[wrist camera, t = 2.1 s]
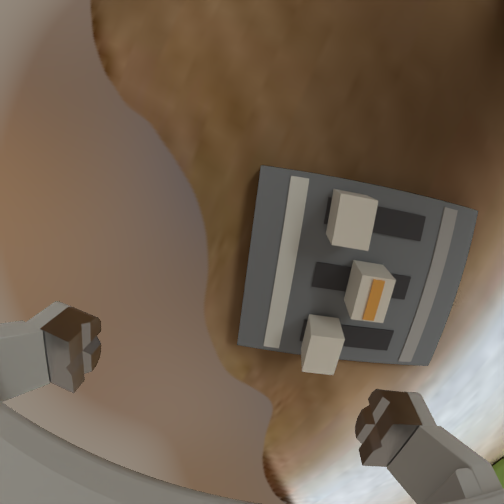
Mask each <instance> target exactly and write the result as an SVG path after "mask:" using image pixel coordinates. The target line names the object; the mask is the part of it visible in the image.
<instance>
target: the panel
mask: <svg viewBox="0 0 504 504" xmlns="http://www.w3.org/2000/svg"><path fill="white" fill-rule="evenodd" d="M333 189H337V190H343V191H348V192H353V193H359V194H364V195H367V196H369V197H372V198H374V199H376V200H378V206H377V211H376V216H375V221H374V226H373V231H372V236H371V241H370V245H369V250H368V251H365V250H359V249H353V248H347V247H341V246H335V245H331V243H330V241H329V239H328V237H327V235H326V230H327V224H328V219H329V213H330V207H331V201H332V195H333ZM477 214H478V211H477V210H474V209H471V208H468V207H464V206H460V205H457V204H453V203H449V202H446V201H442V200H438V199H434V198H430V197H426V196H422V195H418V194H414V193H410V192H405V191H401V190H397V189H392V188H388V187H383V186H379V185H374V184H369V183H364V182H359V181H354V180H349V179H344V178H338V177H333V176H327V175H322V174H316V173H310V172H304V171H298V170H291V169H285V168H278V167H271V166H264V165H261V169H260V177H259V184H258V191H257V199H256V206H255V214H254V221H253V229H252V236H251V244H250V251H249V259H248V266H247V274H246V281H245V289H244V296H243V304H242V311H241V319H240V327H239V334H238V342H237V345H241V346H247V347H252V348H259V349H265V350H271V351H278V352H285V353H292V354H299V355H301V346H302V342H303V338H304V334H305V330H306V325H307V321H308V317H309V314H312V315H319V316H327V317H334V318H339V320H340V324H341V327H342V331H343V334H344V338H345V341H344V344H343V347H342V350H341V353H340V357H339V359H341V360H351V361H362V362H373V363H387V364H402V365H422V366H428V365H429V363H430V361H431V358H432V356H433V354H434V351H435V349H436V347H437V344H438V342H439V339H440V337H441V334H442V332H443V329H444V327H445V324H446V321H447V319H448V316H449V313H450V311H451V308H452V305H453V302H454V299H455V296H456V293H457V290H458V287H459V284H460V281H461V277H462V274H463V271H464V267H465V264H466V260H467V256H468V253H469V249H470V245H471V241H472V237H473V233H474V228H475V224H476V219H477ZM353 260H357V261H363V262H369V263H375V264H382V265H384V266H385V267H386V269H387V270H388V271H389V272H390V273H391V275H392V276H393V277H394V278H395V279H396V282H395V285H394V289H393V292H392V296H391V299H390V303H389V306H388V309H387V312H386V315H385V319H384V322H383V323H378V322H369V321H361V320H353V319H351V318H350V316H349V313H348V310H347V307H346V304H345V302H344V297H345V293H346V289H347V285H348V281H349V277H350V272H351V268H352V264H353Z"/></svg>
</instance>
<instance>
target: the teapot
mask: <svg viewBox="0 0 504 504" xmlns="http://www.w3.org/2000/svg"><path fill="white" fill-rule="evenodd" d="M492 467H493V469H494V471H495V473H496V475H497V477H498V479H499V481H500V483H501V485H502V487H503V489H504V458H503V459H501V460H500V461H499V462H497V463H496V464H494V465H493V466H492Z"/></svg>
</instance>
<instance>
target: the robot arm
mask: <svg viewBox="0 0 504 504" xmlns="http://www.w3.org/2000/svg"><path fill="white" fill-rule="evenodd" d="M100 332H101V321H100V319H99V318H98V317H95V316H93V315H90V314H88V313H86V312H83V311H81V310H78V309H76V308H74V307H71V306H69V305H67V304H64V303H62V302H58V301H57V302H56V301H55V302H54V303H53V304H51V305H50V306H48V307H47V308H45V309H44V310H43V311H41V312H40V313H38V314H37V315H36V316H34V317H33V318H32V319H30V320H28V321H27V322H24V321H15V322H9V323H1V324H0V504H259V503H253V502H248V501H242V500H237V499H231V498H227V497H221V496H217V495H213V494H208V493H204V492H200V491H196V490H193V489H189V488H185V487H181V486H178V485H175V484H171V483H168V482H165V481H162V480H159V479H156V478H153V477H150V476H147V475H144V474H141V473H139V472H136V471H133V470H130V469H128V468H125V467H123V466H120V465H117V464H115V463H113V462H110V461H108V460H106V459H103V458H101V457H99V456H97V455H94V454H92V453H90V452H88V451H86V450H84V449H82V448H79V447H77V446H75V445H73V444H71V443H69V442H67V441H66V440H64V439H62V438H60V437H58V436H56V435H54V434H52V433H51V432H49V431H47V430H45V429H43V428H42V427H40V426H38V425H37V424H35V423H33V422H32V421H30V420H28V419H27V418H25V417H23V416H22V415H20V414H19V413H17V412H16V411H14V410H13V409H11V408H9V407H8V406H7V405H5V404H4V403H2V402H3V401H5V400H8V399H11V398H14V397H16V396H19V395H21V394H24V393H27V392H29V391H32V390H34V389H37V388H40V387H42V386H45V385H47V384H50V382H51V383H53V384H55V385H57V386H59V387H61V388H64V389H66V390H68V391H70V392H72V393H74V392H75V391H76V390H77V389H78V388H79V386H80V385H81V384H82V382H84V374H85V373H88V372H91V371H93V369H94V368H95V367H96V365H97V363H98V360H99V358H100V353H101V343H100V341H99V339H98V337H97V335H98V334H99V333H100ZM368 400H369V406H367V407H365V408H364V409H362V410H361V412H360V414H359V416H358V418H357V421H356V425H355V434H356V438H357V439H358V440H359V441H360V442H361V443H362V445H361V447H360V448H359V452H360V457H361V462H362V465H363V466H382V467H387V469H388V470H389V471H390V473H391V474H392V475H393V476H394V477H395V479H396V480H397V481H398V482H399V483H400V484H401V486H402V487H403V488H404V489H405V490H406V492H407V493H408V494H409V495H410V496H411V497H412V499H413V500H414V501H415V502H416V503H417V504H504V489H503V487H502V485H501V483H500V481H499V479H498V477H497V475H496V473H495V471H494V469H493V467H492V465H491V463H489V462H488V461H487V460H485V459H484V458H483V457H481V456H480V455H478V454H477V453H476V452H474V451H473V450H472V449H470V448H469V447H468V446H466V445H465V444H464V443H462V442H461V441H460V440H458V439H457V438H456V437H454V436H453V435H452V434H450V433H449V432H448V431H446V430H445V429H444V428H442V427H441V426H437V425H436V423H435V421H434V419H433V417H432V415H431V413H430V411H429V409H428V407H427V405H426V403H425V401H424V399H423V398H422V396H421V394H419V393H417V392H399V391H389V390H381V389H375V390H374V391H373V392H372V393H371V395H370V397H369V398H368Z"/></svg>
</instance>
